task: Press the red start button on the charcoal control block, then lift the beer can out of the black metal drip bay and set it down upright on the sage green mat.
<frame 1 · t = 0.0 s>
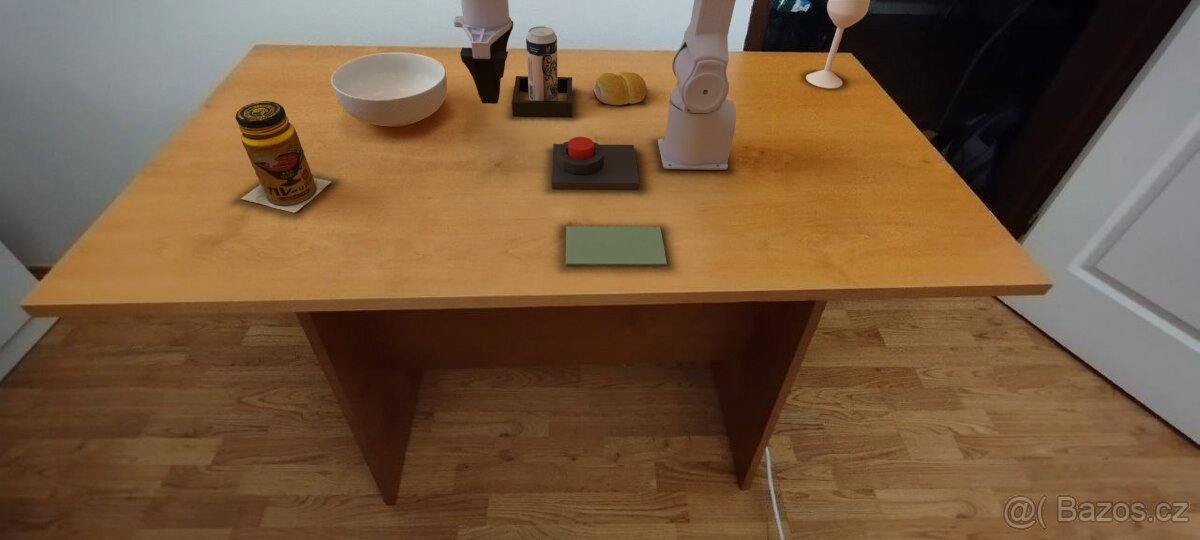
hand: (493, 89, 78), 10 cm above the table, tool pointing down, fingers open, 7 cm apart
drip bay: (543, 103, 97), on the table
condiment: (288, 192, 77), on the table
mat: (614, 246, 71), on the table
beer can: (543, 104, 97), resting in drip bay
start button: (580, 148, 81), point 3 cm above the table, slide at 0.1 cm
control block: (594, 169, 83), on the table
cereal bowl: (398, 116, 93), on the table
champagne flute: (823, 81, 108), on the table
bread roll: (619, 97, 100), on the table
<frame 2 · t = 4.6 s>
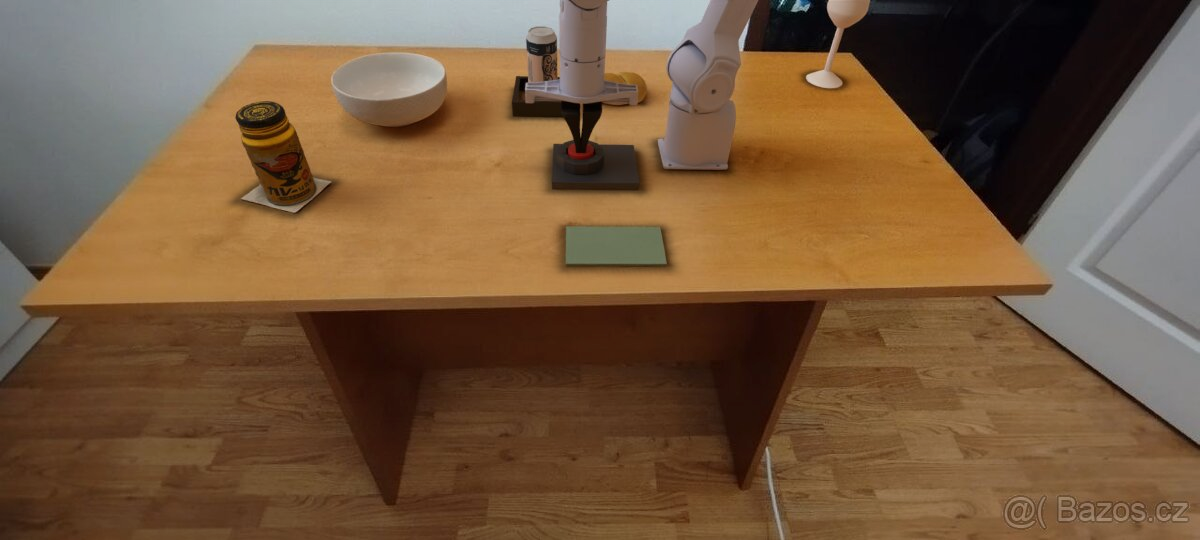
hand: (580, 149, 81), 3 cm above the table, tool pointing down, fingers closed, pressing on start button
start button: (580, 154, 81), point 3 cm above the table, slide at -0.9 cm, touching gripper
everything else where it was.
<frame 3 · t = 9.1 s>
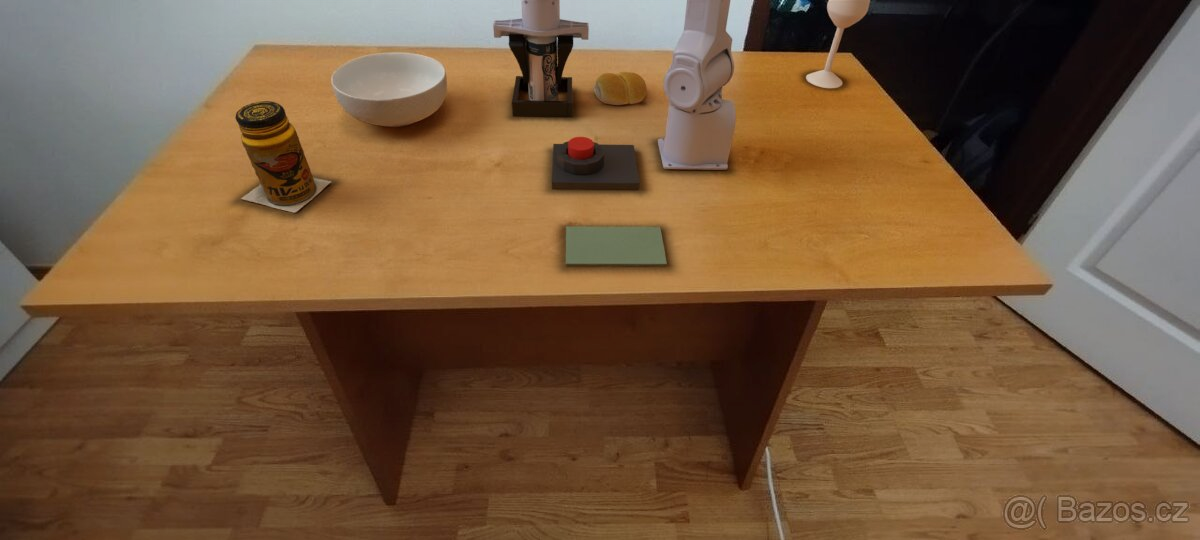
hand: (543, 81, 95), 4 cm above the table, tool pointing down, fingers closed on beer can, 5 cm apart
beer can: (543, 104, 97), resting in drip bay, touching gripper
start button: (580, 148, 81), point 3 cm above the table, slide at 0.1 cm
everything else where it was.
when the fingers open (4 cm above the table, at t = 15.6 s): beer can stays where it is, resting on mat.
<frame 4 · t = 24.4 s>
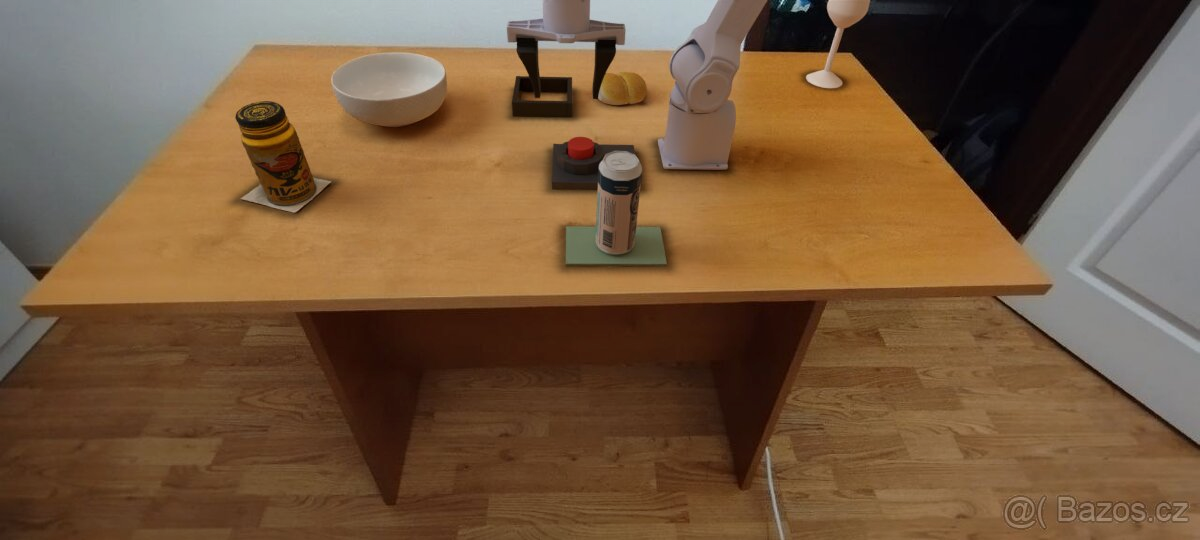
hand: (566, 95, 77), 10 cm above the table, tool pointing down, fingers open, 7 cm apart
beer can: (614, 245, 71), resting on mat
everything else where it was.
at the end: start button pushed in 1.2 cm at the most during the clip, back to where it started at the end; beer can 0.0 cm off-centre on the mat, point 0.2 cm above the mat's base; beer can tilted 0° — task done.
